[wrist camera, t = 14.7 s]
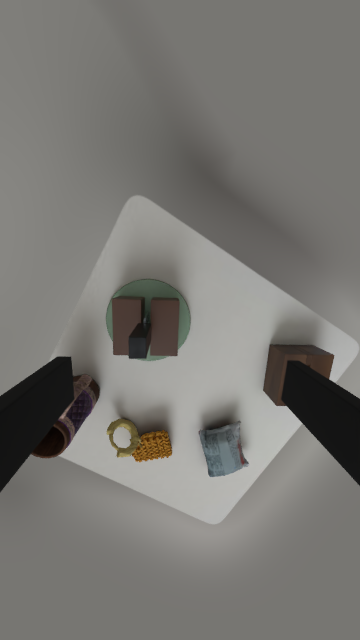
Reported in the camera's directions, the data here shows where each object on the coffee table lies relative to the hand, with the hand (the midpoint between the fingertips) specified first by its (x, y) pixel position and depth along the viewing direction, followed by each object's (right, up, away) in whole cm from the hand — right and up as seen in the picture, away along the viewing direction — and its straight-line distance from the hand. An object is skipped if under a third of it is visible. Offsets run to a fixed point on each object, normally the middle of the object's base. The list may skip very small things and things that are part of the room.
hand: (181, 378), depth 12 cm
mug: (-18, -9, +25) cm, 33 cm away
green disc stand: (-6, +3, +23) cm, 24 cm away
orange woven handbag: (-8, -20, +28) cm, 36 cm away
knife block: (+22, -6, +27) cm, 35 cm away
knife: (-6, +3, +23) cm, 24 cm away
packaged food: (+9, -22, +30) cm, 39 cm away
